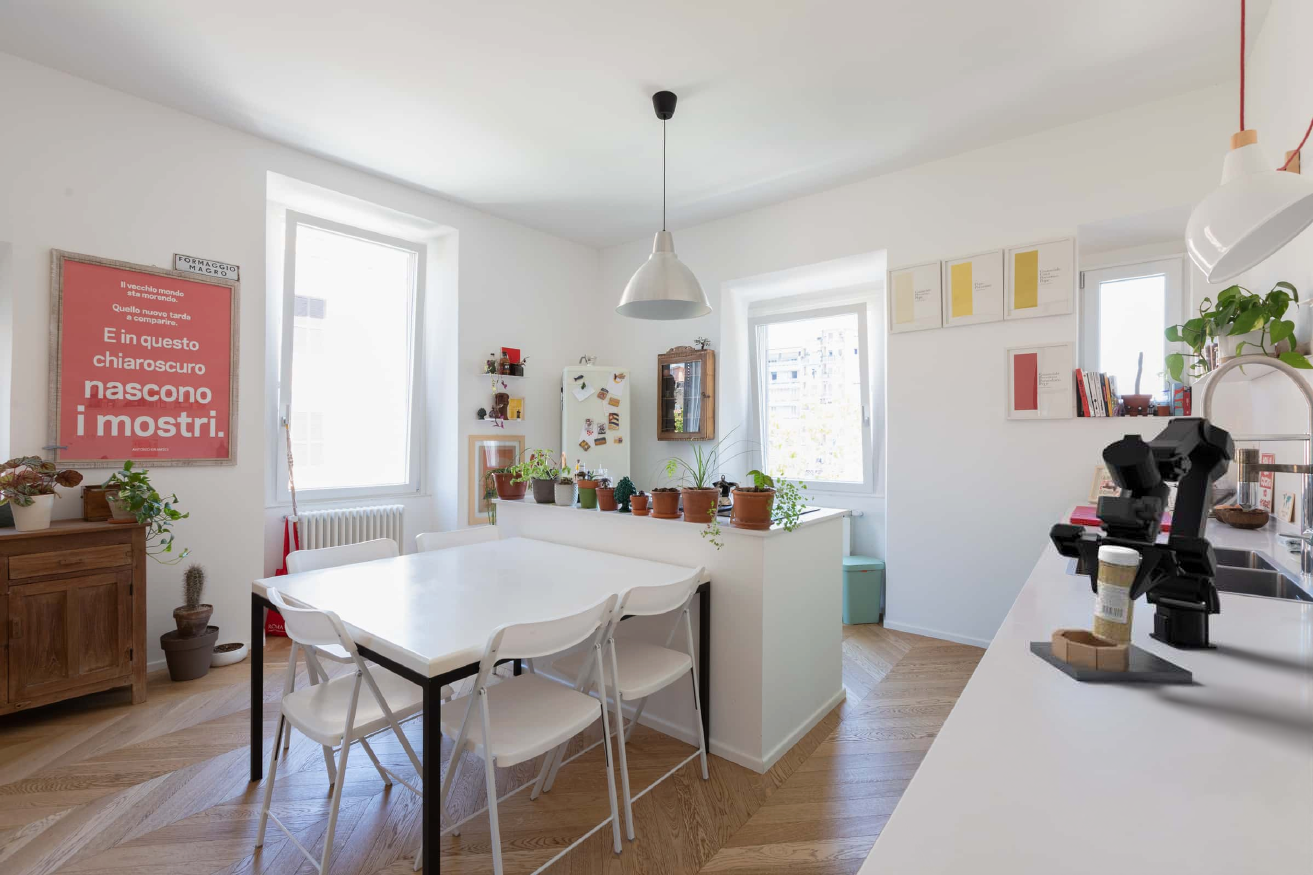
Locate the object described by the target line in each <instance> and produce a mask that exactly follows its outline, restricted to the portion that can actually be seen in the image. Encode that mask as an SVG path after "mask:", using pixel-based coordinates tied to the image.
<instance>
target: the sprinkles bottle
mask: <svg viewBox="0 0 1313 875" xmlns="http://www.w3.org/2000/svg"><path fill="white" fill-rule="evenodd" d="M1098 558H1099V559H1100V560H1099V572H1098V580H1097V594H1095V606H1094V623H1093V624H1094V626H1093V630H1092V631H1093V635H1094V636H1095V637H1096V638H1097V639H1100V640H1102V641H1104V642H1107V643H1112V644H1117V645H1128V644H1130V643H1131V644H1132V640H1133V639H1132V637H1131V636H1132V628H1133V627H1132V626H1133V620H1134V612H1135V611H1134V610H1135V601H1134V600H1131V598H1130V592H1131V587H1132V584H1133V582H1134V579H1135V577H1136V574H1137V569H1138V565H1140V556H1139V552H1138V551H1136V550H1133V549H1130V548H1125V547H1119V546H1101V547H1100V548H1099V555H1098Z"/></svg>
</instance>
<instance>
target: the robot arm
mask: <svg viewBox="0 0 1313 875" xmlns="http://www.w3.org/2000/svg"><path fill="white" fill-rule="evenodd" d="M1101 456H1102V459H1103V461H1104V463H1105V466H1106V469H1107V471H1108V473H1109V475H1110V478H1111V479H1112V483H1113V485H1114V486H1115V487H1117V488H1120V492H1119V495H1118V496H1112V495H1111V496H1109V495H1101V496H1100V495H1099V496H1098V500H1097V506H1096V510H1095V518H1096V519H1099V520H1100V521H1101V522H1100V525H1099V527H1100V529H1101V531H1102V532H1103V533H1106V534H1105V535H1104V536H1103V535H1100V534H1099V533H1097V532H1093V531H1092V532H1091V531H1086V528H1085V527H1084V525H1080V524H1071V523H1062V522H1058V523H1055V524H1054V525H1053V526H1052V527H1051V529H1050V531H1049V537H1050V539H1051V540H1052V543H1053V544H1054V546H1055V548H1056V550H1057V552H1058V554H1059V555H1061V556H1063V557H1066V558H1073V559H1078V560H1083V562H1084V563H1085V564H1088V571H1089V579H1090V586H1091V591H1092V593H1093V594H1095V595H1096V594H1097V580H1098V572H1099V560H1100V559H1099V558H1098V555H1099V548H1100V547H1101V546H1119V547H1125V548H1130V549H1133V550H1136V551H1138V552H1139V557H1141V562H1140V564H1139V567H1138V569H1137V571H1136V577H1135V579H1134V582H1133V584H1132V587H1131V592H1130V598H1131V600H1134V602H1136V600H1138V599H1139V598H1140V597H1142V596H1143V595H1144V594H1145V596H1146V597H1145V598H1146V603H1147V604H1148V605H1155V612H1154V614H1153V632H1149V634H1148V636H1149V637H1151V638H1153V639H1155V640H1157V641H1161V642H1162V643H1164V644H1167V645H1168V646H1172V647H1174V648H1176V649H1193V650H1194V649H1196V650H1197V649H1199V650H1200V649H1201V650H1202V649H1203V650H1204V649H1205V650H1217V649H1218V645H1216V644H1214V643H1211V642H1210V616H1211V615H1220V614H1222V613H1221V612H1222V611H1221V600H1220V595H1219V591H1218V588H1217V587H1216V585H1215V582H1214V580H1213V577H1215V576H1216V573H1217V568H1218V561H1217V557H1216V554H1215V552H1214V548H1213V546H1212V542H1210V541H1209V540H1208V539H1207V538H1206V537H1205V535H1206V530H1207V529H1206V528H1207V523H1208V517H1209V510H1210V503H1211V498H1212V493H1213V486H1214V483H1216V482H1217V481H1218V480H1220V479H1221V478H1222V477H1223V476H1225V475H1227V473H1228V471H1229V468H1230V463H1231V461H1234V459H1235V456H1236V445H1235V442H1234V440H1233V438H1232V436H1231V433H1230V432H1229V431H1227V430H1225V429H1223V428H1220V427H1218V426H1216V425H1213V424H1211V421H1210V420H1209V419H1208V418H1204V417H1202V416H1195V417H1192V416H1191V417H1188V416H1187V417H1174V418H1171V419H1168V423H1167V426H1166V427H1165V428H1164V429H1163V430H1161V432H1160V433H1158V435H1156V436H1155V437H1154V438H1153V439H1152V440H1150V441H1144V440H1143V438H1142V435H1141V434H1124V436H1123V438H1122V439H1120V440H1115V441H1113V442H1112V443H1110V444H1108V445H1107V446H1106V447H1104V449H1102V452H1101ZM1167 483H1178V484H1177V488H1176V494H1175V501H1174V505H1173V511H1172V516H1171V522H1170V528H1169V531H1168V532H1169V533H1168V537H1167V538H1168V539H1167V543H1166V544H1164V543H1159V542H1158V543H1156V542H1157V539H1158V535H1162V531H1163V528H1162V522H1163V519H1164V518H1163V517H1164V515H1165V510H1166V508H1167V507H1168V506H1169V497H1170V493H1171V489H1170V487H1169V485H1168V484H1167Z"/></svg>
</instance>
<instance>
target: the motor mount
mask: <svg viewBox="0 0 1313 875" xmlns="http://www.w3.org/2000/svg"><path fill="white" fill-rule="evenodd" d="M1029 651H1030V652H1031V653H1033V654H1034V655H1036V656H1037V657H1039V658H1041V659H1043V661H1046V662H1047V663H1048V662H1049V665H1052V666H1053V667H1055V668H1057V669H1058V670H1059V671H1061V672H1063V673H1064V674H1065V675H1068V676H1069V677H1070V678H1072V679H1073V680H1075V681H1076V682H1077V681H1079V682H1084V681H1085V682H1122V683H1123V682H1126V683H1127V682H1128V683H1131V682H1132V683H1171V684H1172V683H1173V684H1175V683H1176V684H1177V683H1178V684H1179V683H1180V684H1184V683H1185V684H1192V683H1193V672H1192V671H1190V670H1187V669H1185V668H1183V667H1181V666H1179V665H1177V664H1175V663H1172V662H1171V661H1169V660H1166V659H1164V658H1163V657H1160V656H1158V655H1156V654H1154V653H1153V652H1152V653H1151V652H1149V651H1148V650H1145V649H1143V648H1141V647H1139V646H1137V645H1135V644H1133V643H1132V642H1131V643H1130V644H1128V645H1117V644H1112V643H1107V642H1104V641H1102V640H1100V639H1097V638H1096V637H1095V636H1094V635H1093V630H1087V629H1081V628H1080V629H1076V628H1074V629H1073V628H1070V629H1069V628H1066V629H1065V628H1059V629H1057V630H1056V631H1054V632H1053V633H1052V634H1051V641H1030V642H1029Z"/></svg>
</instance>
